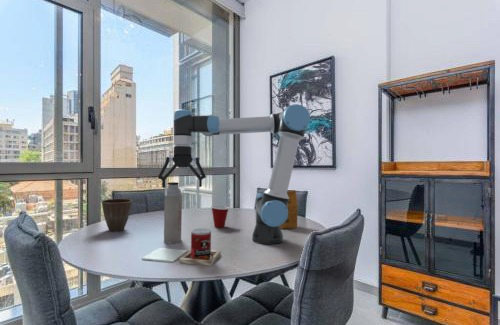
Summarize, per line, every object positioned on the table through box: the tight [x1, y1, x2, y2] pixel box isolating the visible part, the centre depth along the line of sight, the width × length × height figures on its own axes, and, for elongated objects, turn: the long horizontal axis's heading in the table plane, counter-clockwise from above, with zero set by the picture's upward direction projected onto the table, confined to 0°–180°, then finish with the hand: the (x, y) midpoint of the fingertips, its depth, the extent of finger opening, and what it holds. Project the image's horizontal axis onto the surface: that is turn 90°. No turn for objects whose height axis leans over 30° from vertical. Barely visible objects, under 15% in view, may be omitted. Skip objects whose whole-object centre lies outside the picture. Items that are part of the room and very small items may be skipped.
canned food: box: [190, 228, 212, 260], centre depth 111 cm, size 8×8×11 cm
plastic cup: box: [210, 205, 230, 229], centre depth 165 cm, size 11×11×12 cm
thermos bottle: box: [163, 181, 183, 244], centre depth 135 cm, size 8×8×28 cm
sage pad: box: [141, 247, 188, 263], centre depth 114 cm, size 13×13×1 cm
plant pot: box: [101, 198, 133, 232], centre depth 154 cm, size 15×15×16 cm
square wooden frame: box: [178, 249, 222, 267], centre depth 111 cm, size 12×12×2 cm
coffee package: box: [280, 189, 298, 230], centre depth 167 cm, size 10×12×22 cm
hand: (182, 195), depth 122 cm, fingers open, 13 cm apart
